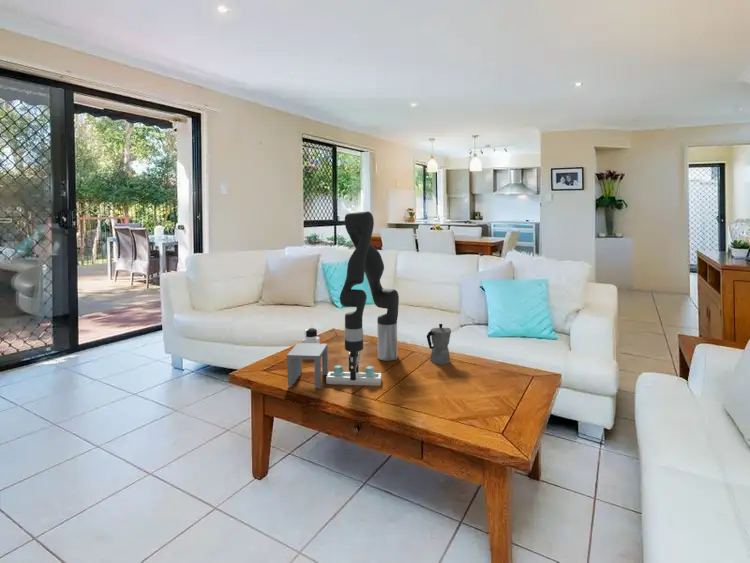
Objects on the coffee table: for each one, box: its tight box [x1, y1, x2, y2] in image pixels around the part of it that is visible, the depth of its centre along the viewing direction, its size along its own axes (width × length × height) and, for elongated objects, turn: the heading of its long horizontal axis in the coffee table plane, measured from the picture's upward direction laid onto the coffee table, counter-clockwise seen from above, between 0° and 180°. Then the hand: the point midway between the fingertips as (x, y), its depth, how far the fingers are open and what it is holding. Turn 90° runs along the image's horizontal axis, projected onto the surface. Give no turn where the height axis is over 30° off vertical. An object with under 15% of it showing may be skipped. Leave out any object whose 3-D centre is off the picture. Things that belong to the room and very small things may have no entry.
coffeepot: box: [426, 323, 452, 366], centre depth 206 cm, size 15×9×18 cm, turn 129°
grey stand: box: [286, 342, 329, 389], centre depth 185 cm, size 13×16×14 cm
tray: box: [325, 365, 382, 386], centre depth 184 cm, size 22×6×6 cm, turn 85°
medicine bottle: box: [301, 327, 321, 344], centre depth 221 cm, size 7×7×12 cm
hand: (354, 376), depth 184 cm, fingers open, 8 cm apart
